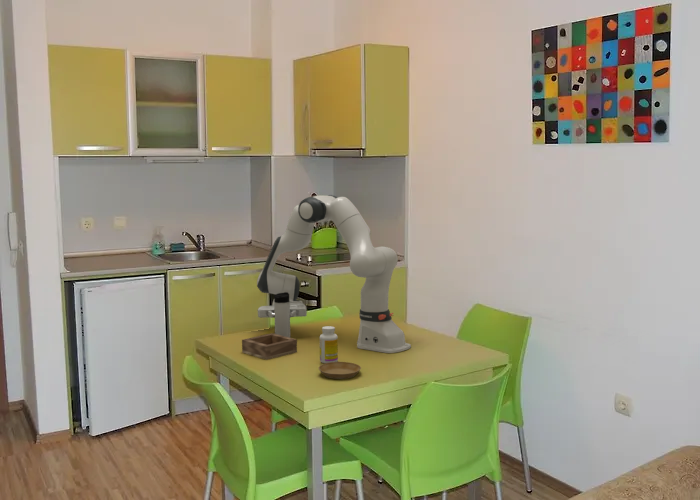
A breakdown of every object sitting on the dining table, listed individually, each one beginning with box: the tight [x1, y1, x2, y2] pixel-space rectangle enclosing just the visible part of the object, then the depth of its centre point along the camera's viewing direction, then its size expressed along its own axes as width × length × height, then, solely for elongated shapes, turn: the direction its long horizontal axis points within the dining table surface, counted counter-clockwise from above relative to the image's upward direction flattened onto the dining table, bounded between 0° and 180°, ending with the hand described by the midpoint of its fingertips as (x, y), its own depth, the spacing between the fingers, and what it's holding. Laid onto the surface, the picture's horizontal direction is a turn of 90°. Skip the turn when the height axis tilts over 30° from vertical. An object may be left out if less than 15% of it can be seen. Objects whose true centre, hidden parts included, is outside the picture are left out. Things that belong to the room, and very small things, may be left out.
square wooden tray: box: [241, 332, 298, 360], centre depth 278 cm, size 15×15×5 cm
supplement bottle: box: [319, 325, 339, 364], centre depth 264 cm, size 7×7×13 cm
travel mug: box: [273, 292, 291, 338], centre depth 293 cm, size 6×7×20 cm
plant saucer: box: [318, 361, 362, 380], centre depth 250 cm, size 15×15×3 cm
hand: (282, 315), depth 292 cm, fingers closed on travel mug, 6 cm apart
